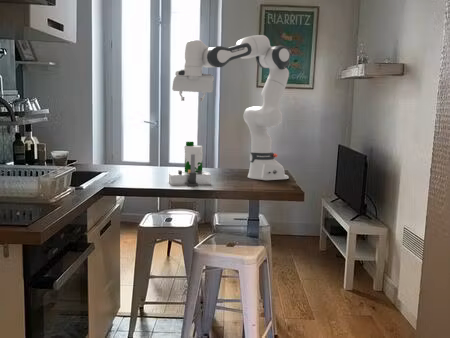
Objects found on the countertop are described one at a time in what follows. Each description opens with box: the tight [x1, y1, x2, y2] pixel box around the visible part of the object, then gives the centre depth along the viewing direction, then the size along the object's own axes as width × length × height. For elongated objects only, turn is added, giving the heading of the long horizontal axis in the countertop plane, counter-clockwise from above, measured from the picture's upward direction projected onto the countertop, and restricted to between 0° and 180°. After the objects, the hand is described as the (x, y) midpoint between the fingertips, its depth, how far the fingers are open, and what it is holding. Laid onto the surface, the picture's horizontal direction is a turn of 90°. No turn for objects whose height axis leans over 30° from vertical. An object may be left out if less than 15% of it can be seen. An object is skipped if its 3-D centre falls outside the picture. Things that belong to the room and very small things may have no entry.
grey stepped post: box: [186, 154, 199, 188], centre depth 244 cm, size 5×5×16 cm
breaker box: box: [168, 169, 212, 186], centre depth 252 cm, size 20×8×7 cm, turn 105°
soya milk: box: [184, 141, 204, 172], centre depth 262 cm, size 9×9×20 cm
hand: (192, 101), depth 249 cm, fingers open, 8 cm apart
